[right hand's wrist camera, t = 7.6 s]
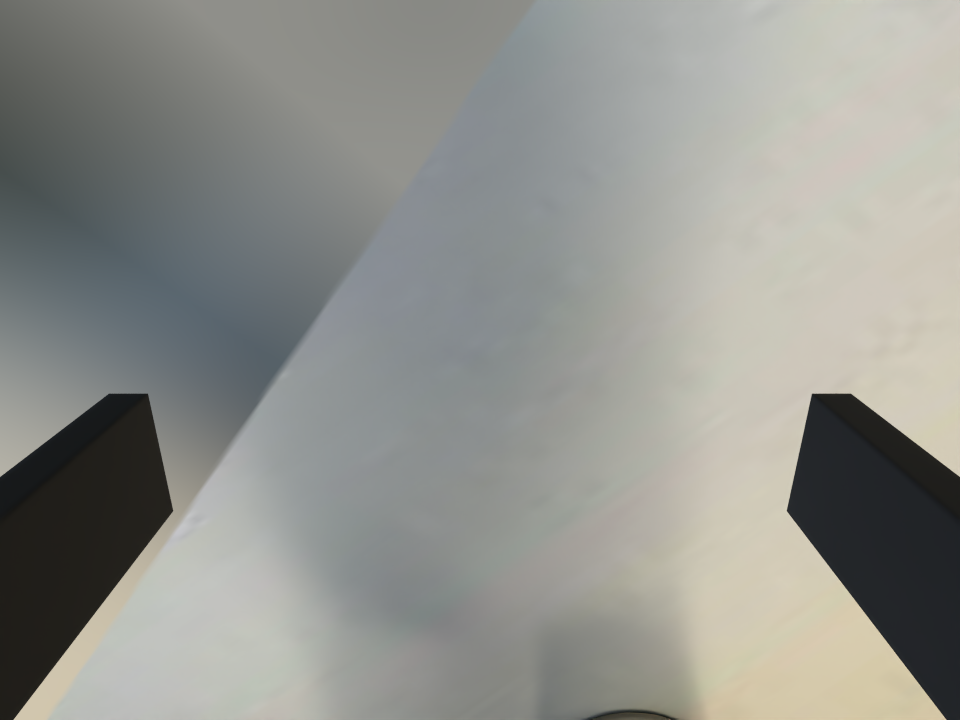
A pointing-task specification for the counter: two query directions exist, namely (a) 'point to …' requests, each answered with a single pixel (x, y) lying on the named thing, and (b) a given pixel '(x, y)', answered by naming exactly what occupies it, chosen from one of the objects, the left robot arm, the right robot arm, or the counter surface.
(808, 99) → the counter surface
